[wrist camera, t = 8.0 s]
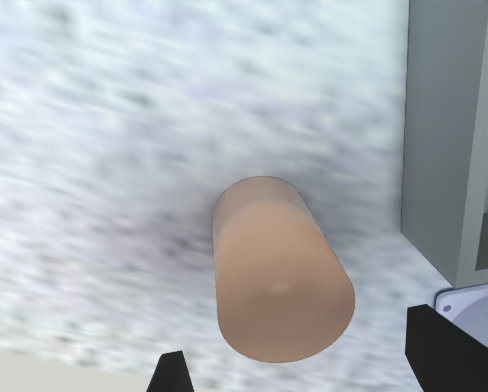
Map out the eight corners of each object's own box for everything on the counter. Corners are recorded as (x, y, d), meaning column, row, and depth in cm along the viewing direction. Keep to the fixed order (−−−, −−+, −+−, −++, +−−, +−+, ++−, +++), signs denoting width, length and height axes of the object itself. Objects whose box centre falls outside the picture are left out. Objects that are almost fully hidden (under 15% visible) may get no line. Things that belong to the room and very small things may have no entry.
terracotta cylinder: (309, 251, 21) (356, 349, 15) (221, 267, 21) (229, 373, 15) (302, 168, 19) (353, 241, 13) (203, 185, 19) (205, 268, 12)
